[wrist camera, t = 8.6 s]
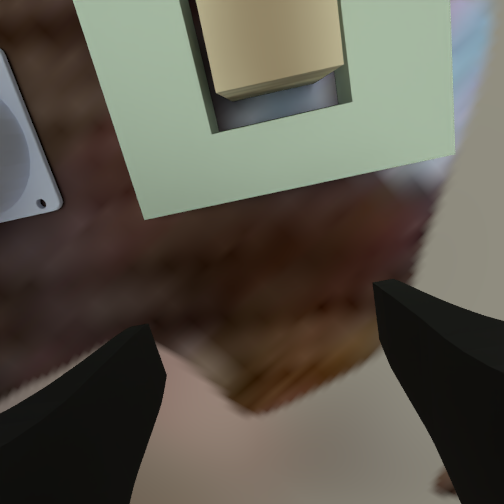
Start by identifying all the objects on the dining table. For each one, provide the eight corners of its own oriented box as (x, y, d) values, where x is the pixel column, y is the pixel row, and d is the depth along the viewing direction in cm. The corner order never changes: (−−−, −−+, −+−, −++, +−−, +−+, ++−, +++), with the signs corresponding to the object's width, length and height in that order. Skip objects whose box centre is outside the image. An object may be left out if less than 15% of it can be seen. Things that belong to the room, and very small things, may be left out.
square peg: (232, 101, 18) (215, 93, 12) (213, 8, 17) (182, -61, 10) (313, 83, 18) (343, 64, 11) (300, -13, 16) (326, -99, 10)
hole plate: (161, 205, 20) (144, 220, 17) (79, -61, 16) (40, -99, 13) (426, 148, 19) (455, 154, 16) (408, -157, 15) (442, -223, 12)
